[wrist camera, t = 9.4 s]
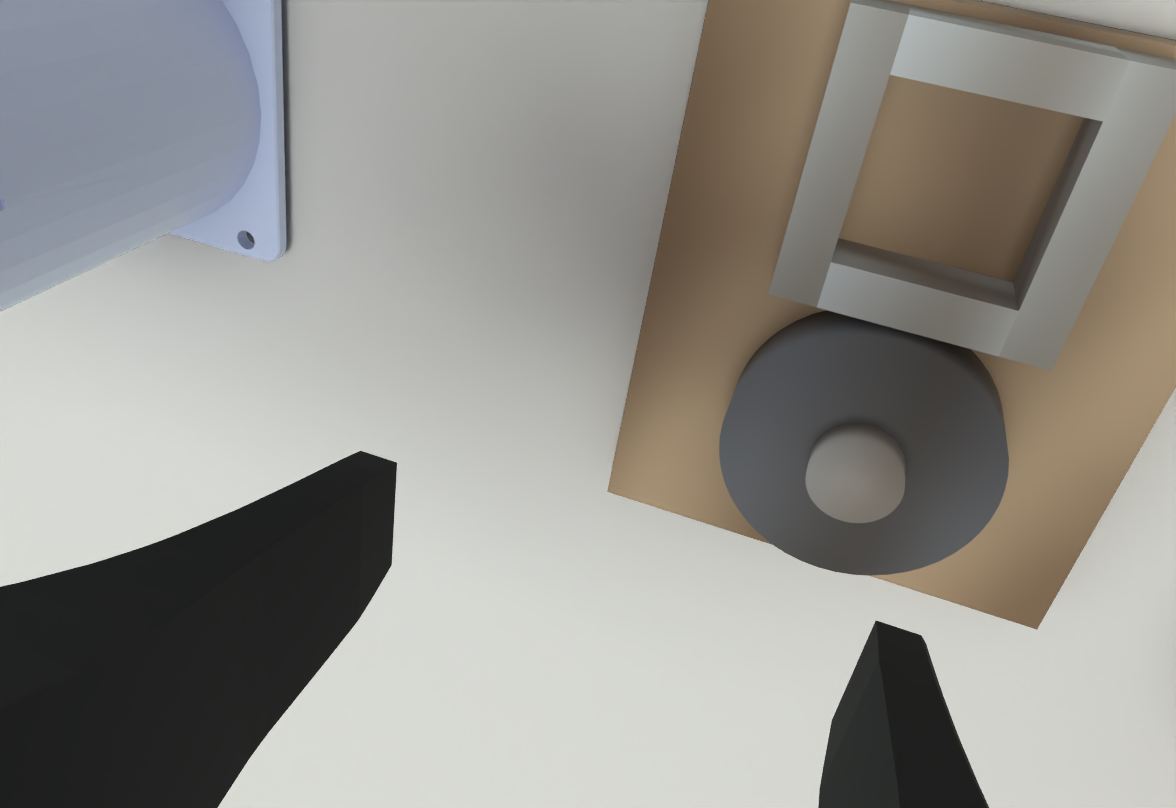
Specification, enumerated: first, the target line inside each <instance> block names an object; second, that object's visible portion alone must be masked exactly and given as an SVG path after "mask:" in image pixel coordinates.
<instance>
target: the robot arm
mask: <svg viewBox="0 0 1176 808" xmlns="http://www.w3.org/2000/svg"><path fill="white" fill-rule="evenodd" d="M246 231H247V232H249V233H250V234H251V235H252V236H253V238H254V242H255V244H253V243H252V242H250V240H249V239H248V237H247V234H246ZM168 233H169V234H172V235H176V236H179V237H182V238H186V239H189V240H193V241H196V242H199V243H203V244H206V245H210V246H213V247H216V248H220V249H223V250H227V251H230V252H234V253H237V254H240V255H244V256H247V257H251V258H254V259H257V260H261V261H264V262H272V261H274V260H276V259H278V258H280V257H281V256H282V255H283V254H284V253H285V251H286V245H287V244H286V198H285V152H284V106H283V60H282V14H281V0H0V311H2V310H5V309H7V308H9V307H11V306H13V305H15V304H17V303H20V302H22V301H24V300H26V299H28V298H30V297H32V296H35V295H37V294H39V293H41V292H43V291H45V290H47V289H50V288H52V287H54V286H56V285H58V284H60V283H63V282H65V281H67V280H69V279H71V278H73V277H75V276H78V275H80V274H82V273H84V272H86V271H88V270H90V269H93V268H95V267H97V266H99V265H101V264H103V263H105V262H108V261H110V260H112V259H114V258H116V257H118V256H120V255H123V254H125V253H127V252H129V251H131V250H133V249H135V248H138V247H140V246H142V245H144V244H146V243H148V242H151V241H153V240H155V239H157V238H159V237H161V236H163V235H166V234H168ZM396 470H397V463H396V462H393V461H390V460H387V459H384V458H381V457H378V456H375V455H372V454H369V453H366V452H362V451H359V452H357V453H355V454H353V455H350V456H348V457H346V458H344V459H342V460H340V461H338V462H336V463H334V464H332V465H329V466H327V467H325V468H323V469H321V470H319V471H317V472H315V473H313V474H311V475H309V476H307V477H305V478H303V479H301V480H299V481H297V482H295V483H293V484H291V485H289V486H287V487H284V488H282V489H280V490H278V491H276V492H274V493H272V494H270V495H267V496H265V497H263V498H261V499H259V500H257V501H255V502H253V503H250V504H248V505H246V506H244V507H242V508H240V509H237V510H235V511H233V512H230V513H228V514H225V515H223V516H221V517H218V518H216V519H213V520H211V521H209V522H206V523H204V524H201V525H199V526H197V527H194V528H192V529H190V530H187V531H185V532H182V533H180V534H178V535H175V536H172V537H170V538H167V539H164V540H162V541H159V542H156V543H153V544H151V545H148V546H145V547H142V548H139V549H136V550H133V551H130V552H127V553H124V554H121V555H118V556H115V557H112V558H109V559H106V560H102V561H99V562H96V563H92V564H89V565H85V566H81V567H78V568H74V569H70V570H66V571H62V572H59V573H55V574H51V575H47V576H43V577H40V578H36V579H32V580H28V581H24V582H20V583H16V584H11V585H7V586H2V587H0V808H217V807H218V806H219V804H220V803H221V801H222V800H223V798H224V797H225V795H226V794H227V792H228V790H229V789H230V787H231V786H232V784H233V783H234V781H235V780H236V778H237V777H238V775H239V774H240V772H241V770H242V769H243V767H244V766H245V764H246V763H247V761H248V760H249V758H250V757H251V755H252V754H253V753H254V751H255V750H256V749H257V747H258V746H259V745H260V743H261V742H262V741H263V739H264V738H265V736H266V735H267V734H268V732H269V731H270V730H271V729H272V727H273V726H274V725H275V724H276V722H277V721H278V720H279V719H280V717H281V716H282V715H283V714H284V713H285V711H286V710H287V709H288V708H289V706H290V705H291V704H292V703H293V701H294V700H295V699H296V698H297V696H298V695H299V694H300V693H301V691H302V690H303V689H304V688H305V686H306V685H307V684H308V683H309V681H310V680H311V679H312V678H313V677H314V675H315V674H316V673H317V672H318V670H319V669H320V668H321V667H322V665H323V664H324V663H325V662H326V660H327V659H328V658H329V657H330V655H331V654H332V653H333V652H334V650H335V649H336V648H337V647H338V645H339V644H340V643H341V641H342V640H343V639H344V638H345V636H346V635H347V634H348V633H349V631H350V630H351V629H352V627H353V626H354V625H355V624H356V622H357V621H358V620H359V618H360V617H361V615H362V613H363V612H364V610H365V609H366V607H367V605H368V604H369V602H370V601H371V599H372V597H373V596H374V594H375V592H376V591H377V589H378V587H379V585H380V584H381V582H382V580H383V579H384V577H385V575H386V574H387V572H388V570H389V568H390V567H391V565H392V546H393V527H394V508H395V489H396ZM819 808H989V806H988V804H987V802H986V800H985V798H984V795H983V793H982V791H981V789H980V787H979V784H978V782H977V780H976V777H975V775H974V773H973V770H972V768H971V765H970V763H969V761H968V758H967V756H966V754H965V751H964V749H963V746H962V744H961V742H960V739H959V737H958V734H957V731H956V729H955V726H954V724H953V721H952V718H951V716H950V713H949V710H948V708H947V705H946V702H945V699H944V697H943V694H942V691H941V688H940V685H939V682H938V679H937V676H936V673H935V670H934V667H933V664H932V661H931V658H930V655H929V652H928V649H927V645H926V643H925V641H924V640H923V638H922V636H921V635H918V634H915V633H912V632H909V631H906V630H903V629H900V628H897V627H894V626H891V625H888V624H885V623H882V622H879V621H875V624H874V626H873V628H872V631H871V633H870V635H869V637H868V640H867V642H866V644H865V646H864V649H863V651H862V653H861V656H860V658H859V660H858V662H857V665H856V667H855V669H854V671H853V674H852V676H851V678H850V681H849V683H848V685H847V687H846V690H845V692H844V694H843V696H842V699H841V701H840V703H839V706H838V708H837V710H836V712H835V715H834V717H833V719H832V723H831V729H830V734H829V739H828V745H827V750H826V756H825V761H824V767H823V773H822V779H821V785H820V794H819Z"/></svg>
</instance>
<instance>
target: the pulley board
mask: <svg viewBox="0 0 1176 808" xmlns="http://www.w3.org/2000/svg"><path fill="white" fill-rule="evenodd" d="M1175 387H1176V40H1171V39H1166V38H1161V37H1156V36H1151V35H1146V34H1141V33H1136V32H1131V31H1126V30H1121V29H1116V28H1111V27H1106V26H1101V25H1096V24H1091V23H1087V22H1082V21H1077V20H1072V19H1067V18H1062V17H1057V16H1052V15H1047V14H1042V13H1037V12H1032V11H1027V10H1022V9H1017V8H1012V7H1007V6H1003V5H998V4H993V3H988V2H983V1H978V0H708V5H707V10H706V15H705V20H704V25H703V30H702V34H701V39H700V44H699V49H698V54H697V59H696V64H695V68H694V73H693V78H692V83H691V88H690V93H689V98H688V102H687V107H686V112H685V117H684V122H683V127H682V132H681V136H680V141H679V146H678V151H677V156H676V161H675V166H674V171H673V175H672V180H671V185H670V190H669V195H668V200H667V205H666V209H665V214H664V219H663V224H662V229H661V234H660V239H659V243H658V248H657V253H656V258H655V263H654V268H653V273H652V277H651V282H650V287H649V292H648V297H647V302H646V307H645V312H644V316H643V321H642V326H641V331H640V336H639V341H638V346H637V350H636V355H635V360H634V365H633V370H632V375H631V380H630V384H629V389H628V394H627V399H626V404H625V409H624V414H623V418H622V423H621V428H620V433H619V438H618V443H617V448H616V452H615V457H614V462H613V467H612V472H611V477H610V482H609V487H608V491H607V492H610V493H613V494H617V495H620V496H623V497H626V498H629V499H632V500H635V501H638V502H641V503H645V504H648V505H651V506H654V507H657V508H660V509H663V510H666V511H670V512H673V513H676V514H679V515H682V516H685V517H688V518H691V519H694V520H698V521H701V522H704V523H707V524H710V525H713V526H716V527H719V528H723V529H726V530H729V531H732V532H735V533H738V534H741V535H744V536H747V537H751V538H754V539H757V540H760V541H763V542H766V543H769V544H772V545H774V546H776V547H777V548H779V549H781V550H782V551H784V552H785V553H787V554H789V555H791V556H793V557H795V558H797V559H799V560H801V561H803V562H806V563H809V564H811V565H814V566H817V567H820V568H824V569H827V570H831V571H835V572H841V573H847V574H855V575H869V576H872V577H875V578H878V579H882V580H885V581H888V582H891V583H894V584H897V585H900V586H903V587H906V588H910V589H913V590H916V591H919V592H922V593H925V594H928V595H931V596H935V597H938V598H941V599H944V600H947V601H950V602H953V603H956V604H959V605H963V606H966V607H969V608H972V609H975V610H978V611H981V612H984V613H988V614H991V615H994V616H997V617H1000V618H1003V619H1006V620H1009V621H1012V622H1016V623H1019V624H1022V625H1025V626H1028V627H1031V628H1034V629H1037V628H1038V627H1039V625H1040V623H1041V621H1042V620H1043V618H1044V616H1045V614H1046V613H1047V611H1048V609H1049V607H1050V606H1051V604H1052V602H1053V600H1054V599H1055V597H1056V595H1057V593H1058V592H1059V590H1060V588H1061V586H1062V585H1063V583H1064V581H1065V579H1066V578H1067V576H1068V574H1069V572H1070V571H1071V569H1072V567H1073V565H1074V564H1075V562H1076V560H1077V558H1078V557H1079V555H1080V553H1081V551H1082V550H1083V548H1084V546H1085V545H1086V543H1087V541H1088V539H1089V538H1090V536H1091V534H1092V532H1093V531H1094V529H1095V527H1096V525H1097V524H1098V522H1099V520H1100V518H1101V517H1102V515H1103V513H1104V511H1105V510H1106V508H1107V506H1108V504H1109V503H1110V501H1111V499H1112V497H1113V496H1114V494H1115V492H1116V490H1117V489H1118V487H1119V485H1120V483H1121V482H1122V480H1123V478H1124V476H1125V475H1126V473H1127V471H1128V469H1129V468H1130V466H1131V464H1132V462H1133V461H1134V459H1135V457H1136V455H1137V454H1138V452H1139V450H1140V448H1141V447H1142V445H1143V443H1144V441H1145V440H1146V438H1147V436H1148V434H1149V433H1150V431H1151V429H1152V427H1153V426H1154V424H1155V422H1156V420H1157V419H1158V417H1159V415H1160V413H1161V412H1162V410H1163V408H1164V406H1165V405H1166V403H1167V401H1168V399H1169V398H1170V396H1171V394H1172V392H1173V391H1174V389H1175Z"/></svg>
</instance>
